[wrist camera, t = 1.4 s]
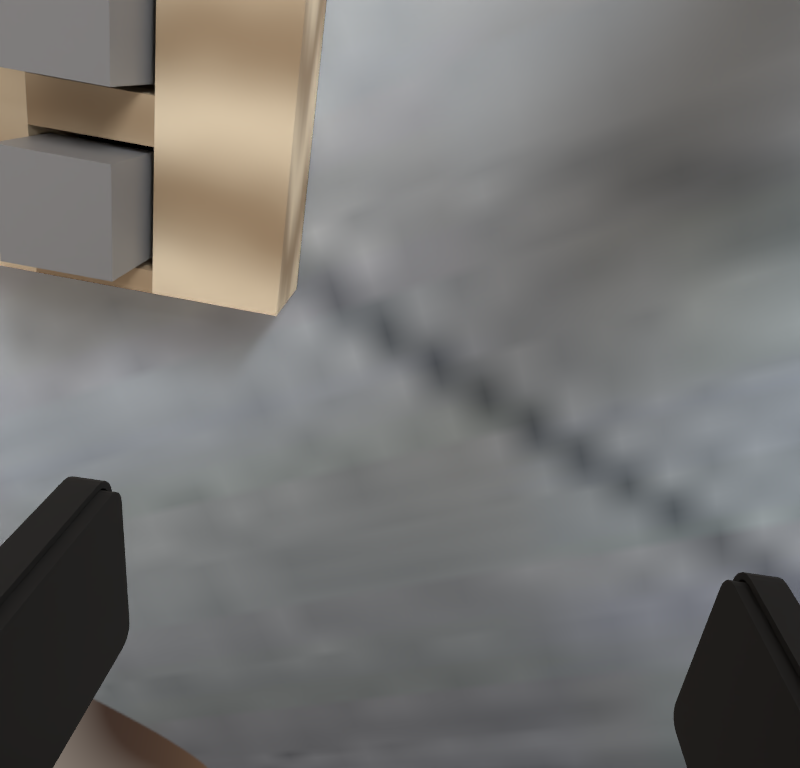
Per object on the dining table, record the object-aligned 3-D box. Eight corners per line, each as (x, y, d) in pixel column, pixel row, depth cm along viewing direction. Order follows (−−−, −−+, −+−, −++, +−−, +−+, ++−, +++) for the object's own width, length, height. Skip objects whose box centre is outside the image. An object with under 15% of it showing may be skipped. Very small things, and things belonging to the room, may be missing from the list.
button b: (41, -66, 26) (-28, -87, 22) (158, -45, 26) (108, -62, 22) (47, 64, 28) (-16, 63, 24) (156, 83, 28) (110, 87, 24)
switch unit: (-85, -351, 25) (-182, -425, 21) (355, -274, 25) (335, -334, 21) (-29, 229, 34) (-91, 250, 30) (296, 289, 34) (275, 317, 30)
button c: (50, 132, 29) (-10, 142, 25) (155, 151, 29) (110, 164, 25) (55, 237, 31) (0, 261, 27) (153, 255, 31) (112, 281, 27)
